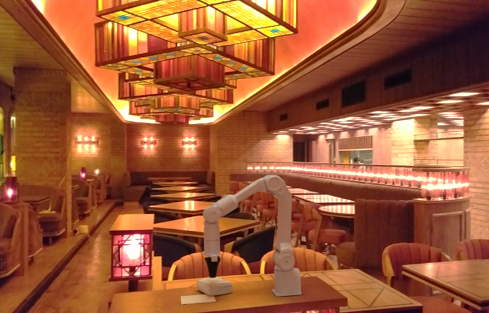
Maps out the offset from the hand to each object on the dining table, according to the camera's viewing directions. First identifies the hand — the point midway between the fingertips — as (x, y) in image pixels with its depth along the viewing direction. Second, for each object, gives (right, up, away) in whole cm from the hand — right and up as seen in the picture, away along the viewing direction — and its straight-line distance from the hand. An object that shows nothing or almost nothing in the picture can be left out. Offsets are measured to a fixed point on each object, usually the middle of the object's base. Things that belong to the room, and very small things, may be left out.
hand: (212, 277), depth 149 cm
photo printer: (+3, -5, +3) cm, 7 cm away
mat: (-5, -8, -1) cm, 9 cm away
